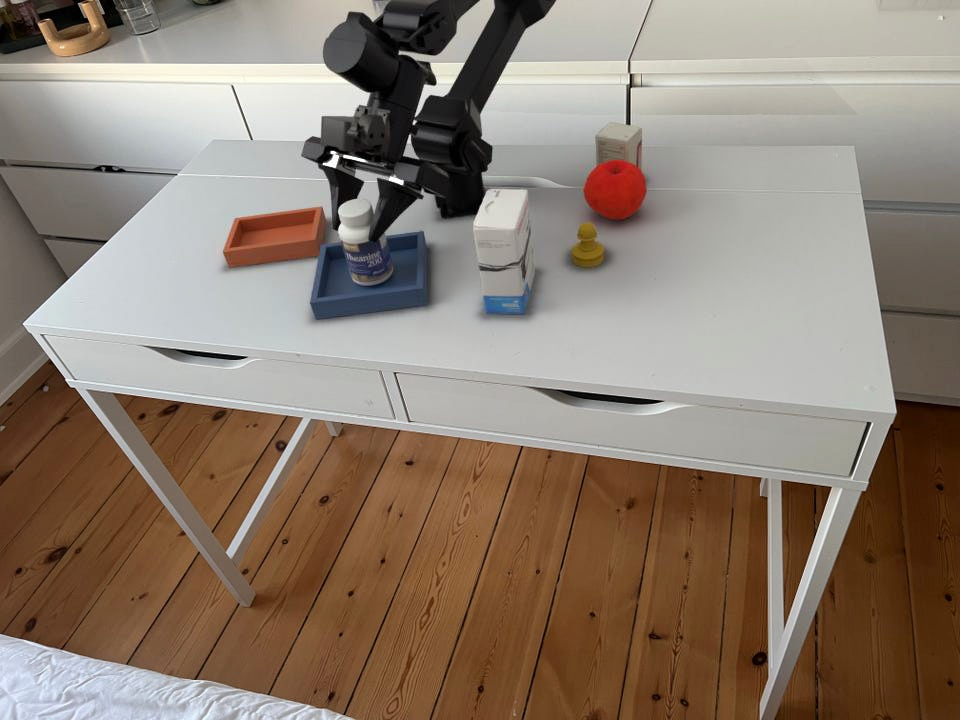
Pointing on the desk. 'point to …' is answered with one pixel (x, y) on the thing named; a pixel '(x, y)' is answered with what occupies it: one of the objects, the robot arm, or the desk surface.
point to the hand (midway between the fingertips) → (353, 236)
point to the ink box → (504, 250)
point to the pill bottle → (363, 244)
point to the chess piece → (587, 247)
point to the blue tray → (348, 298)
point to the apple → (615, 189)
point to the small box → (619, 144)
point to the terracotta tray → (275, 237)
